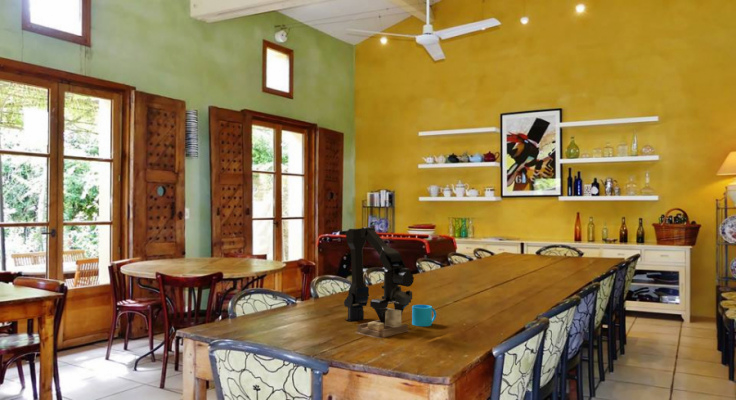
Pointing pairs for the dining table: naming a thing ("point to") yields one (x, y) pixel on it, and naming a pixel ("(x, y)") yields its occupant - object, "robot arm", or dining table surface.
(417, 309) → the mug
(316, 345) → the dining table surface
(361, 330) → the rack
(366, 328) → the offcut low
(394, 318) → the block
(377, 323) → the offcut top
